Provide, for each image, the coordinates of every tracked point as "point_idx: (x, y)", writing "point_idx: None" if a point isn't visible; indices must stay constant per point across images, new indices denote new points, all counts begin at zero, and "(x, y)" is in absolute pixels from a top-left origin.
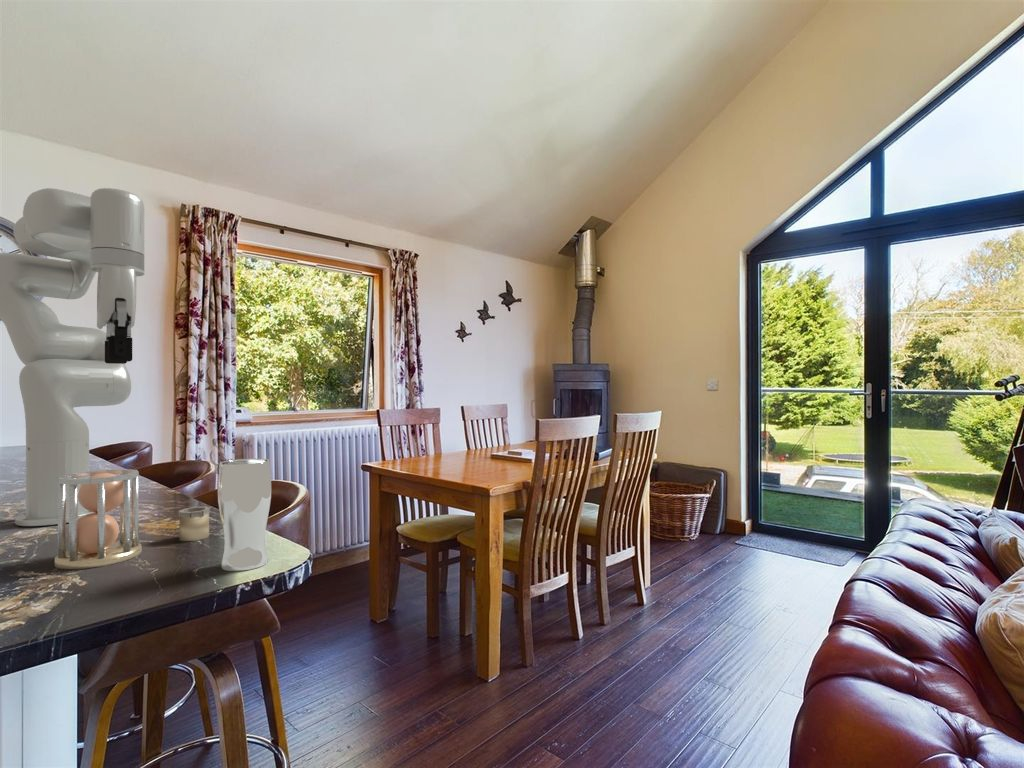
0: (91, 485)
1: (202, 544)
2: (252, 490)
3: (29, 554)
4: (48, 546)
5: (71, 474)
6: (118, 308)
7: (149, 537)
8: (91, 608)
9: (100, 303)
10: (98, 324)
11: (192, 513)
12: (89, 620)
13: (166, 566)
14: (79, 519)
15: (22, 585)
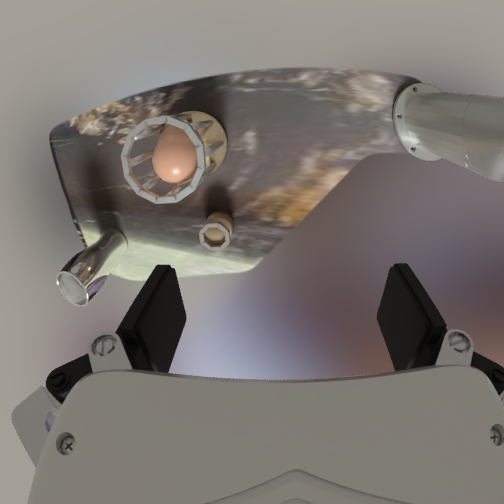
0: (155, 150)
1: (188, 226)
2: (69, 275)
3: (255, 85)
4: (281, 99)
5: (179, 127)
6: (12, 419)
7: (252, 187)
8: (75, 155)
9: (40, 478)
10: (197, 379)
11: (199, 233)
12: (60, 158)
13: (134, 195)
14: (169, 134)
15: (142, 100)
